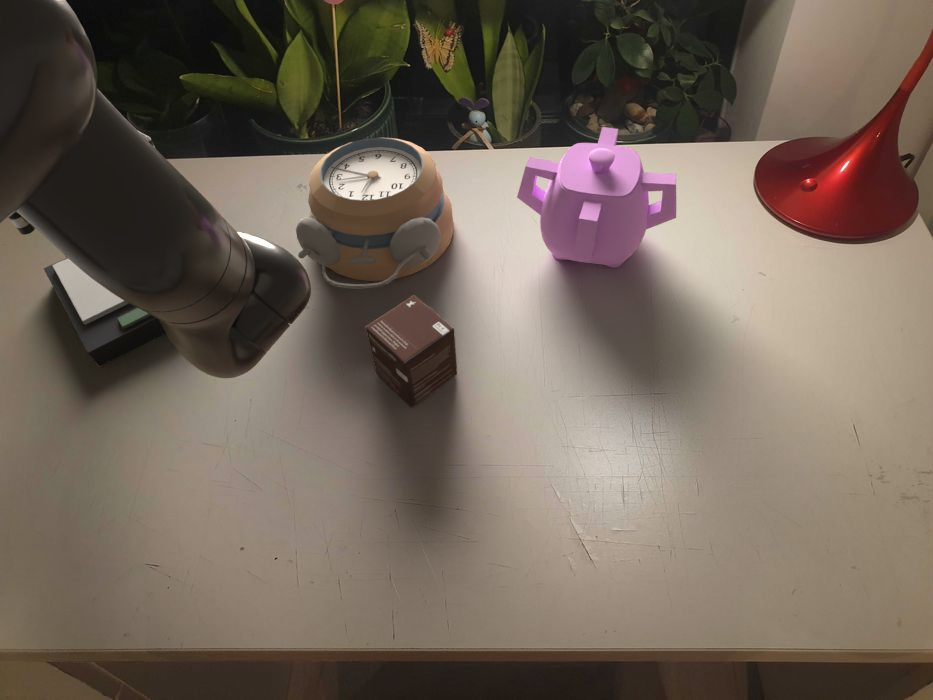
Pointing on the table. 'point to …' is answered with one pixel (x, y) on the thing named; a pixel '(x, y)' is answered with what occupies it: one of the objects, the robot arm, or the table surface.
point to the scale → (101, 314)
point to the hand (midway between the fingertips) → (38, 144)
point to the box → (413, 350)
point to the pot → (597, 201)
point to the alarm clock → (376, 212)
